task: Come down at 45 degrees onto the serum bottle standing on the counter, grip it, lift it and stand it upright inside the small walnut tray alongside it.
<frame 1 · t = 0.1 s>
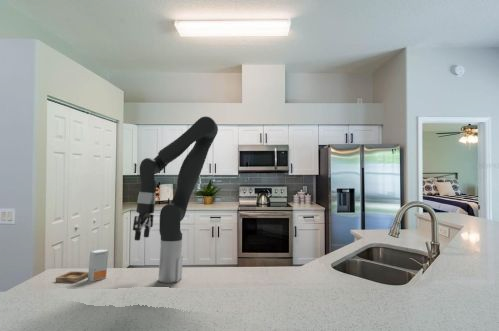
hand: (141, 238, 120), 17 cm above the countertop, tool pointing down, fingers open, 8 cm apart
skincare box: (97, 279, 117), on the countertop
tray: (73, 278, 116), on the countertop
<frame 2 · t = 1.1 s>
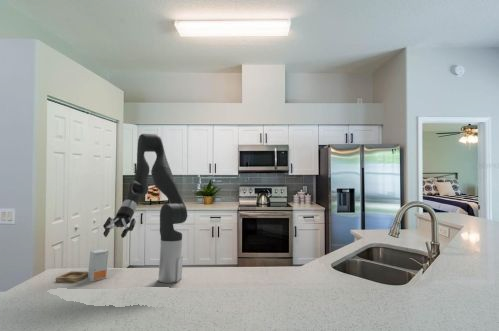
hand: (113, 236, 129), 16 cm above the countertop, tool tilted 45°, fingers open, 8 cm apart
nothing on the countertop moved.
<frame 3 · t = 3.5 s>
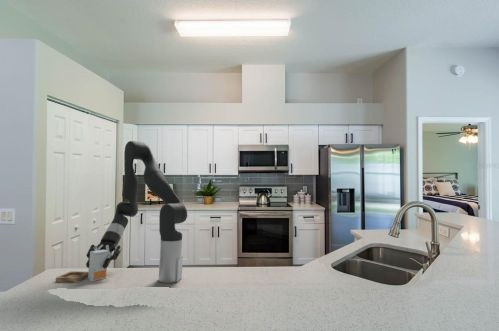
hand: (95, 267, 116), 5 cm above the countertop, tool tilted 45°, fingers closed on skincare box, 6 cm apart
skincare box: (97, 279, 117), on the countertop, touching gripper
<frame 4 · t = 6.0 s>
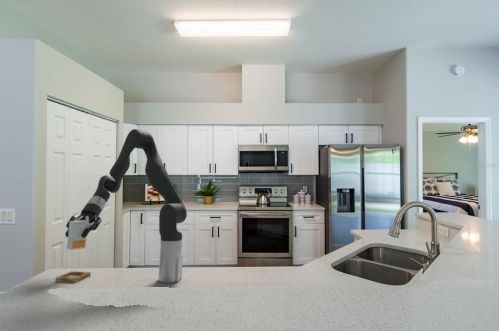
hand: (74, 236, 117), 18 cm above the countertop, tool tilted 45°, fingers closed on skincare box, 6 cm apart
skincare box: (76, 249, 118), point 13 cm above the countertop, touching gripper
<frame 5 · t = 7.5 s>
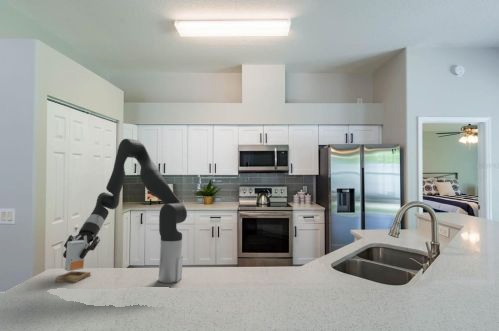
hand: (72, 257, 116), 9 cm above the countertop, tool tilted 45°, fingers closed on skincare box, 6 cm apart
skincare box: (74, 269, 117), point 4 cm above the countertop, touching gripper
when the fingers open (7 cm above the countertop, at t = 8.6 s): skincare box stays where it is, resting on tray.
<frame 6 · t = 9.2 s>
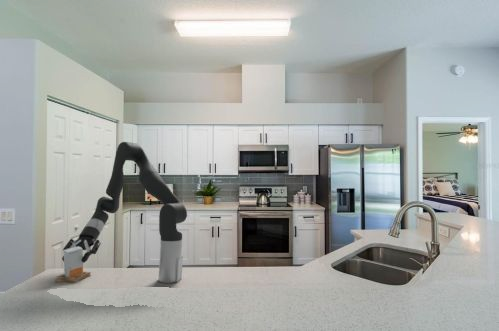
hand: (73, 261, 116), 8 cm above the countertop, tool tilted 45°, fingers open, 8 cm apart
skincare box: (74, 276, 117), point 1 cm above the countertop, touching tray
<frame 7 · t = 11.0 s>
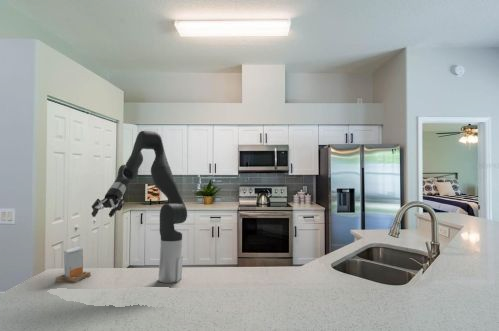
hand: (101, 215, 130), 26 cm above the countertop, tool tilted 45°, fingers open, 8 cm apart
nothing on the countertop moved.
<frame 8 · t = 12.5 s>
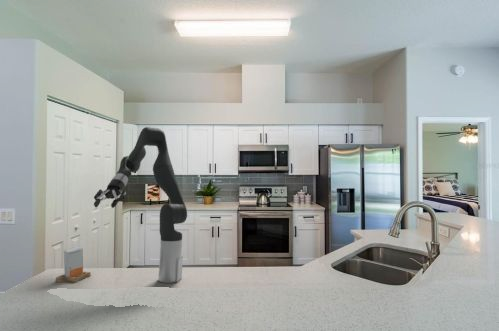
hand: (103, 206, 131), 31 cm above the countertop, tool tilted 45°, fingers open, 8 cm apart
nothing on the countertop moved.
at the end: skincare box 0.3 cm from the tray (horizontally); skincare box tilted 10°; the gripper is holding nothing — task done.
